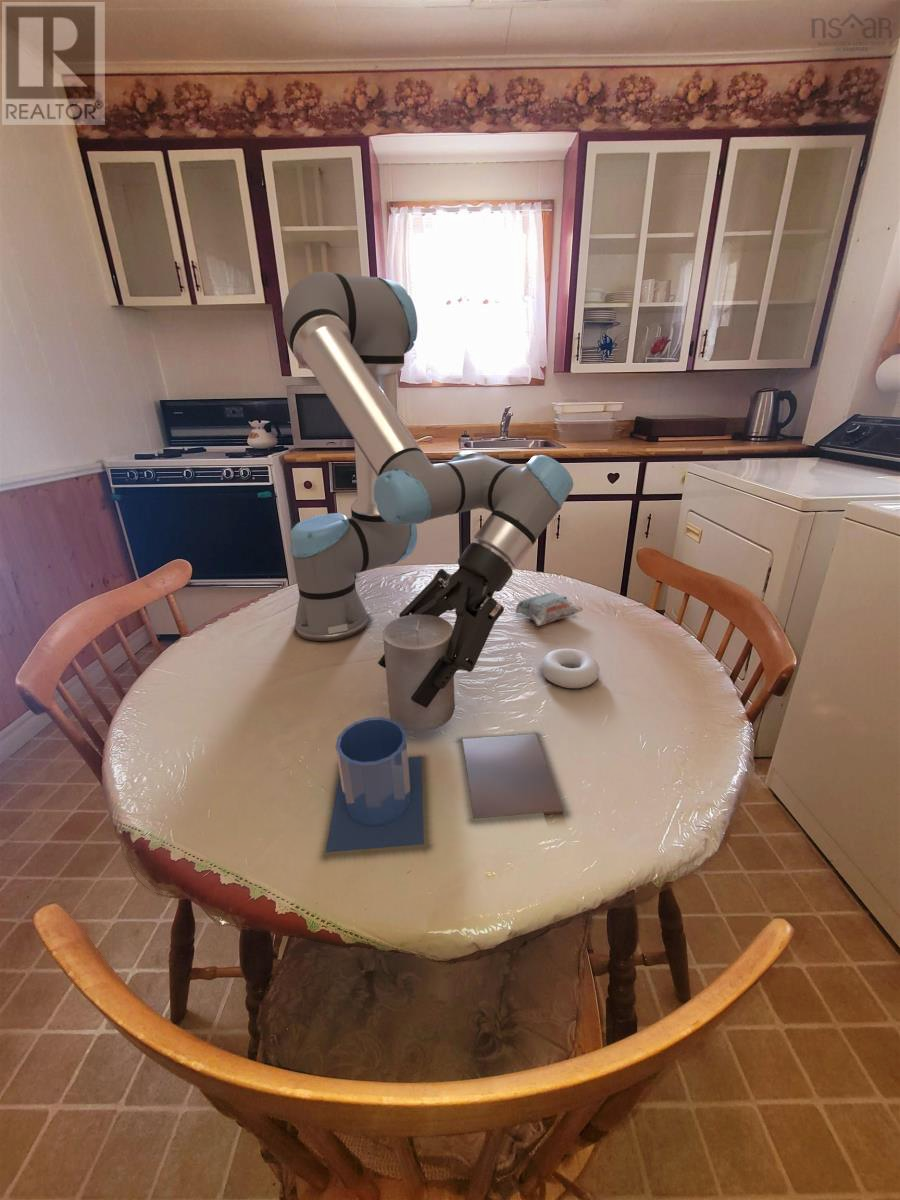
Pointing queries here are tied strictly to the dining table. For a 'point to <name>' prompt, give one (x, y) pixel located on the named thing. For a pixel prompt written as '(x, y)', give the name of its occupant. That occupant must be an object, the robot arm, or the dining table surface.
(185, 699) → the dining table surface
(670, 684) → the dining table surface
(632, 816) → the dining table surface
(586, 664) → the donut
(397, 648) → the pillar candle
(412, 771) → the blue mat
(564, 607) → the packaged food
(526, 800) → the gray board
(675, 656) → the dining table surface
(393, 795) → the blue cup
